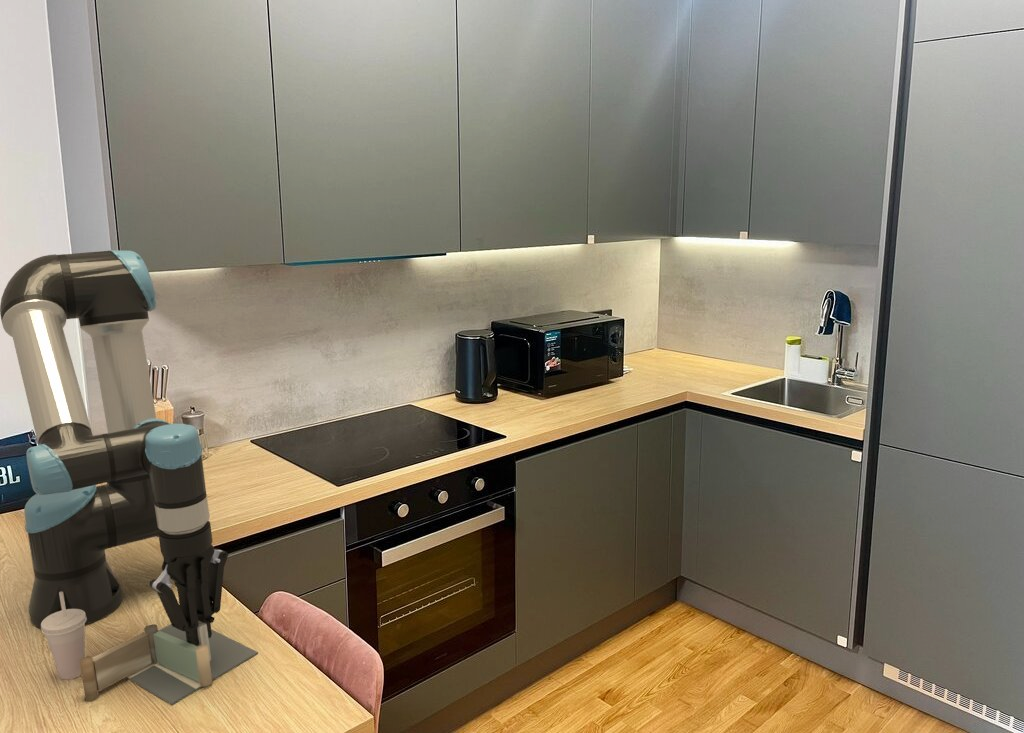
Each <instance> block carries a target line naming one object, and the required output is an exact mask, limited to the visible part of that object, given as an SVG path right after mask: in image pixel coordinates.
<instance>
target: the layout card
mask: <svg viewBox="0 0 1024 733" xmlns="http://www.w3.org/2000/svg"><path fill="white" fill-rule="evenodd" d="M158 631H162V632H164V633H166V634H169V635H171V636H174V637H176V638H178V639H181V640H183V641H186V642H187V639H186V632H185V631H181V630H179V629H177V628H175V627H173V626H172V625H171V623H170V624H168V625H167V626H164V627H163V628H160V629H158ZM211 631H212V635H211V637H210V638H209V646H210V654H211V660H210V668H211V677H212V682H213V681H215V680H217V679H219V678H220V677H222V676H224V675H225V674H227V673H228V672H230V671H231V670H234V669H236V668H237V667H238V666H239V667H240V665H241V664H244V663H245V662H247V661H249V660H250V659H253V657H255V656H256V655H259V652H258V651H257V650H254V649H253V648H250V647H249V646H248V645H247V646H246V645H244V644H242V643H240V642H238V641H236V640H234V639H232V638H230V637H228V636H226V635H224V634H222V633H220V632H218V631H216V630H214V629H213V628H211ZM124 679H126V680H128V681H130V682H132V683H134V684H135V685H137V686H138V687H140V688H142V689H144V690H145V691H147V692H149V694H150V693H151V695H153V696H156V697H157V698H158V699H160V700H162V701H164V702H165V703H166V704H168V705H170V706H173V705H176V704H177V703H179V702H180V701H182V700H184V699H185V698H187V697H188V696H190V695H191V694H193V693H195V692H197V691H199V690H200V689H202V688H203V687H204V686H201V685H200V682H199V681H197V680H194V679H192V678H190V677H188V676H185V675H183V674H181V673H179V672H176V671H174V670H172V669H170V668H168V667H165V666H163V665H161V664H159V663H158V664H149V665H147V666H145V667H143V668H141V669H140V670H138V671H136V672H134V673H132V674H130V675H128V676H127V677H125V678H124Z"/></svg>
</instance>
